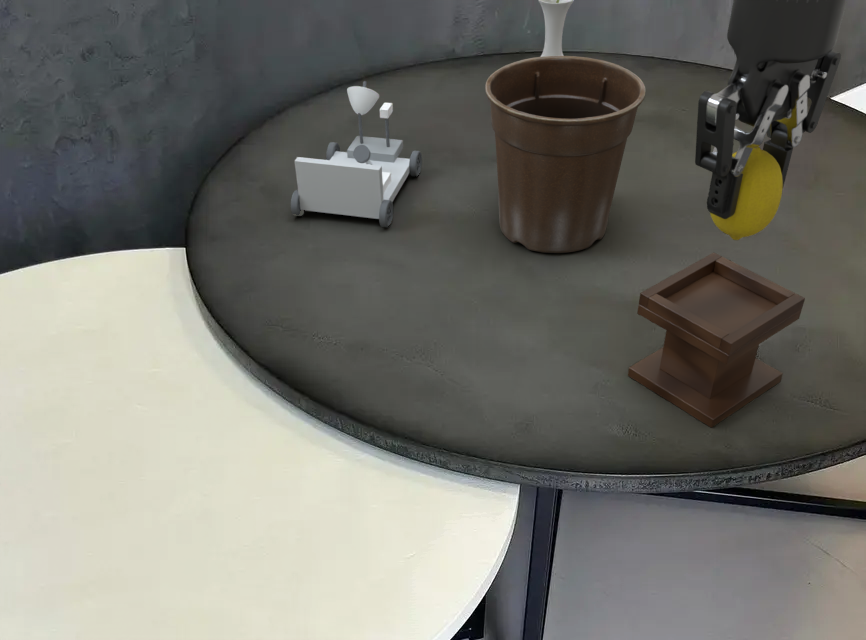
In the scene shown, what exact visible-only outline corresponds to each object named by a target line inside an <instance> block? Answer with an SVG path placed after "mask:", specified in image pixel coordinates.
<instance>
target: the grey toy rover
mask: <svg viewBox="0 0 866 640" xmlns="http://www.w3.org/2000/svg"><path fill="white" fill-rule="evenodd" d="M367 84H368V82H367V81H366V80H364V81H363V82H362V86H359V85H353V86H349V87H347V89H346V92H347V96H348V100H349V104H350V105H351V106H350V107H351V108H352V110H353V111H354V113H355V114H357V118H358V119H357V122H358V133H359V135H357V136H355V138H354V140H352V142H351V144H350V145H349V146H348V148H347V149H346V151H341V146H340V144H339V143H338V142H334V141H330V142H329V143H328V146H327V148H326V154H325V155H326V158H325V159H321V158H312V157H311V158H310V157H302V156H301V157H300V156H296V158H295V159H294V168H295V169H294V170H295V177H296V184H297V189H295V190H294V191H293V192H292V195H291V198H290V211H291V215H293V214H296V215H299V214H300V211H301V210H305V211H306V212H314V213H315V212H317V213H325V214H333V215H340V216H341V215H343V216H351V217H358V218H366V219H367V218H368V219H375V220H378V222H379V225H380V227H381V228H389V227H390V226H391V225H390V223H391V224H392V222H393V217H394V204H393V202H394V200H395V198H396V197H397V195H398V193H399V192H400V190H401V188H402V187H403V185H404V184H405V181H406V180H407V178H408V176H409V175H410V176H411V177H415V176H416V178H417V176H418V175H419V176H420V174H421V171H422V165H423V156H422V155H423V154H422V151H420V150H412V151H411V154H410V157H409V158H405V157H399V156H400V154H401V153H402V151H403V149H404V139H396V138H395V139H394V138H390V124H389V119H390V117H391V115H392V114H393V111H394V107H393V106H394V105H393V104H394V103H393V102H390V101H389V102H383V104H382V105H381V107H380V108H379V118H380V119H384V124H385V125H384V128H385V138H384V137H374V136H364V133H363V132H364V131H363V119H362V118H363V117H362V116H364V115H366V114H368V113H369V112H370V111H371V110H372V109H373V107H374V106H375V105H376V103H377V102H378V100H379V99H380V94H379V93H378V92H377V91H375V90H373V89H372V88H368V87H367ZM419 173H420V174H419ZM419 176H418V177H419ZM304 214H305V213H304ZM304 214H303V216H304ZM391 221H392V222H391ZM389 225H390V226H389ZM388 226H389V227H388Z"/></svg>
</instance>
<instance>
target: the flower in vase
mask: <svg viewBox="0 0 866 640" xmlns="http://www.w3.org/2000/svg"><path fill="white" fill-rule="evenodd" d="M537 1H538V3H539V5H540V7H541V9H542V12H543V17H544V18H543V19H544V45H543V49H542V53H541V55H540V57H544V56H565V55H564V53H563V32H564V27H565V22H566V17H567V14H568V11H569V9H570V8H571V6H572V4H573V3H574V2H575V0H537Z"/></svg>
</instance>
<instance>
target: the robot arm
mask: <svg viewBox="0 0 866 640" xmlns="http://www.w3.org/2000/svg"><path fill="white" fill-rule="evenodd" d="M847 2H848V0H732V5H731V11H730V17H729V21H728V28H727V33H726V37H727V42H728V44H729V46H730V47H731V48H732V50H733V51H734V54H735V56H736V57H735V58H736V61H735V64H734V66H733V69H732V72H731V74H730V76H729V78H728V81H727V86H725V87H724V88H723V89H722V90H720V91H719V92H717V93H715V92H712V91H710V90H707V89H706V90H705V91H703V92H702V93H701V94H700V96H699V99H698V105H697V119H696V120H697V121H696V125H697V126H696V138H695V156H694V157H695V158H694V163H695V165H696V166H697V167H700V168H702V169H704V170H707V171H709V172H710V173H711V179H710V183H709V189H708V193H707V199H706V209H707V212H708V213H709V214H710V213H712V214H714V215H716V216H718V217H721V218H723V219H727V218H729V217H731V216H733V215H734V213H735V210H736V205H737V200H738V196H739V191H740V187H741V182H742V177H743V174H742V172H743V170H744V168H745V165H746V163H747V161H748V159H749V156H750V154H751V152H752V150H753V148H755V147H761V145H762V144H763V146H762V150H764V151H766V152H768V153H769V154H770V155H772V156H773V157H774V158H775V160H776V161H777V162H778V164H779V166H780V169H781V173H782V180H783V188H784V186H785V182H786V178H787V175H788V171H789V166H790V162H791V158H792V154H793V151H794V148H796V147H798V146H799V145H800V144H801V141H802V139H803V135H804V133H805V132H806V133H809V134H811V133H813V132H814V131H815V130H816V128H817V126H818V124H819V121H820V118H821V115H822V112H823V109H824V107H825V105H826V101H827V99H828V95H829V93H830V90H831V88H832V85H833V82H834V79H835V76H836V73H837V71H838V68H839V65H840V61H841V60H842V54H841V53H840V52H838V51H834V50H833V49H835V46H836V45H837V41H838V37H839V34H840V29H841V26H842V25H841V24H842V22H843V19H844V16H845V15H844V14H845V11H846V7H847ZM808 99H810V101H811V103H810V106H809V108H808ZM736 121H739V122H740V123H743V124H746V125H748V126H751V127H752V129H751V130H750V131H748V130H745V129H742V128H739V127H738V126H737V125H736ZM766 136H767V138H769V139H768V140H766V141H764V140H765V137H766ZM735 141H736V142H738V143H739V146H738V149H737V151H736V152H737V153H736V155H735V157H732V154H733V153H734V142H735ZM763 142H764V143H763ZM712 147H714V148H713V149H712ZM783 188H782V190H783Z"/></svg>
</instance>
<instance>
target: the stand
mask: <svg viewBox="0 0 866 640" xmlns="http://www.w3.org/2000/svg"><path fill="white" fill-rule="evenodd" d="M805 301H806V297H804V296H802V295H800V294H798V293H796V292H794V291H792V290H790V289H788V288H786V287H784V286H782V285H780V284H778V283H776V282H774V281H772V280H770V279H768V278H766V277H764V276H762V275H761V274H758V273H757V272H755V271H752V270H750V269H748V268H746V267H744V266H742V265H740V264H738V263H736V262H734V261H732V260H730V259H728V258H726V257H724V256H722V255H720V254H719V253H716V252H711V253H710V254H707V255H706V256H704V257H703V258H701V259H699V260H697V261H695V262H694V263H691V264H690V265H688V266H686V267H684V268H683V269H681V270H679V271H677V272H676V273H674V274H672V275H670V276H668V277H666V278H665V279H663V280H661V281H660V282H657V283H655V284H654V285H652V286H650V287H649V288H647V289H645V290H643V291H640V293H639V299H638V306H637V313H636V314H638V315H639V316H640V317H643V318H644V319H646V320H648V321H649V322H651V323H652V324H655V325H656V326H658V327H660V328H662V329H663V330H665V336H664V340H663V341H664V342H663V346H662V347H661V348H659V349H658V350H656V351H654V352H653V353H651V354H649V355H647V356H645V357H644V358H643V359H640V360H639V361H637V362H636V363H634V364H632V365H631V366H629V367H628V371H627V376H628V377H629V378H631V379H633V380H634V381H636V382H637V383H639V384H640V385H642V386H643V387H644V388H646V389H648V390H650V391H652V392H653V393H655V394H656V395H658V396H659V397H661V398H663V399H664V400H666V401H668V402H669V403H671V404H672V405H674V406H676V407H677V408H679V409H680V410H682V411H684V412H685V413H687V414H688V415H690V416H692V417H693V418H694V419H696V420H698V421H700V422H701V423H703V424H704V425H705V426H708V427H709V428H713V427H715V426H717V424H720V423H721V422H722V421H724V420H725V419H727V418H728V417H730V416H731V415H733V414H734V413H736V412H738V411H739V410H740V409H742V408H744V407H745V406H746V405H748V404H749V403H751V402H753V401H754V400H755V399H757V398H759V397H760V396H761V395H763V394H764V393H766V392H767V391H769V390H770V389H772V388H773V387H776V385H778V384H779V383H781V382H782V379H783V376H784V373H783V372H782V371H780V370H778V369H776V368H774V367H773V366H771V365H769V364H768V363H766V362H764V361H762V360H760V359H759V358H757V355H758V350H759V348H760V344H762V343H764V342H765V341H766V340H768V339H769V338H771V337H772V336H774V335H776V334H778V333H780V332H781V331H783V330H784V329H786V328H787V327H789V326H790V325H792V324H794V323H795V322H797V321H798V320H800V317H801V314H802V310H803V307H804V304H805Z"/></svg>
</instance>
